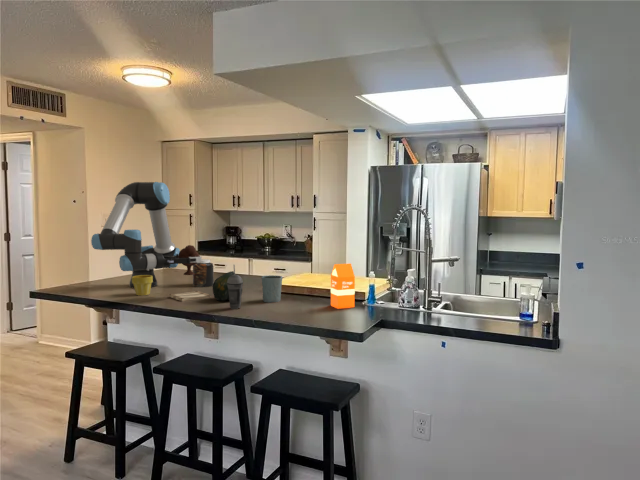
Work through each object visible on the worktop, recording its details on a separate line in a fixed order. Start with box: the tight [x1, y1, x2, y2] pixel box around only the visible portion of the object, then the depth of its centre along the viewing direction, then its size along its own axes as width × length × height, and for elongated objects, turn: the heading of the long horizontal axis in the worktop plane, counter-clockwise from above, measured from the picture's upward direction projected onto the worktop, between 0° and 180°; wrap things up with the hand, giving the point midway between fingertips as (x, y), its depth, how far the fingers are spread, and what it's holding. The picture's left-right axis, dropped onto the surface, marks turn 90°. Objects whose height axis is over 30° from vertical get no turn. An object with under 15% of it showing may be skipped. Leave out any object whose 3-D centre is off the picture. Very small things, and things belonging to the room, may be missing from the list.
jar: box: [192, 258, 215, 288], centre depth 284 cm, size 12×12×15 cm
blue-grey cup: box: [261, 274, 283, 303], centre depth 240 cm, size 10×10×12 cm
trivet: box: [169, 290, 211, 302], centre depth 248 cm, size 15×15×2 cm
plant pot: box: [132, 275, 153, 297], centre depth 255 cm, size 10×10×10 cm
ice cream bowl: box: [177, 244, 201, 276], centre depth 246 cm, size 11×11×15 cm
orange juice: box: [330, 262, 356, 310], centre depth 226 cm, size 8×9×20 cm
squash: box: [212, 270, 243, 302], centre depth 242 cm, size 14×15×15 cm
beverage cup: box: [227, 264, 244, 310], centre depth 222 cm, size 7×7×20 cm
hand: (196, 258), depth 249 cm, fingers closed on ice cream bowl, 11 cm apart
